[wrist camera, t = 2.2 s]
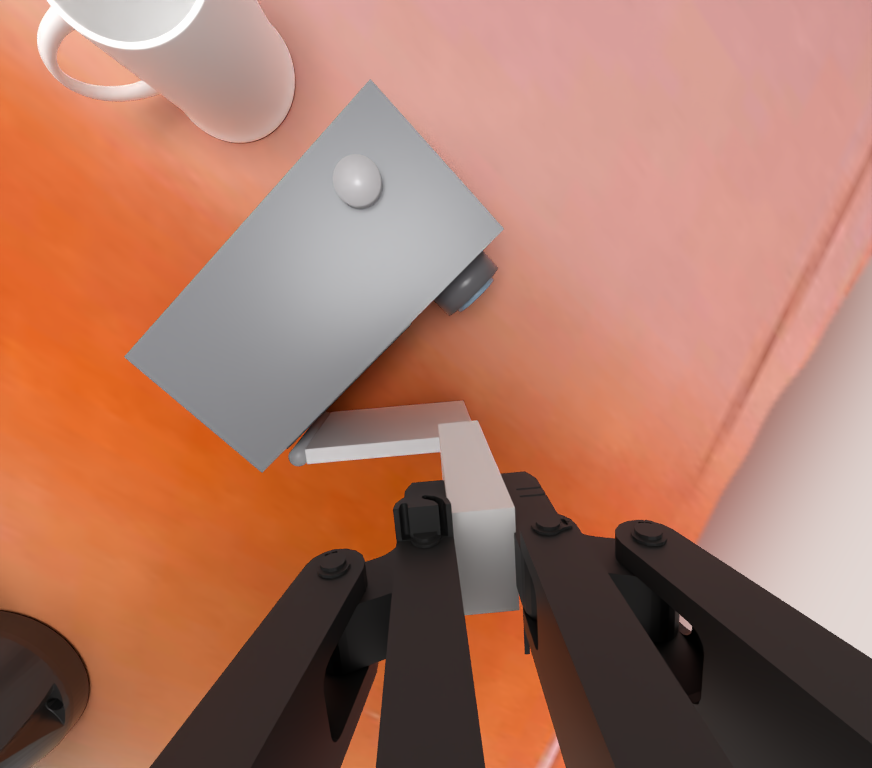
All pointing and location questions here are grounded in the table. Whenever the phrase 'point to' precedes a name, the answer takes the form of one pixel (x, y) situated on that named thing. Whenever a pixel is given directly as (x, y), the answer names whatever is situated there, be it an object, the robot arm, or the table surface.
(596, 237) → the table surface
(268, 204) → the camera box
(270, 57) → the mug
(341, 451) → the door
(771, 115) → the table surface
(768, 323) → the table surface
